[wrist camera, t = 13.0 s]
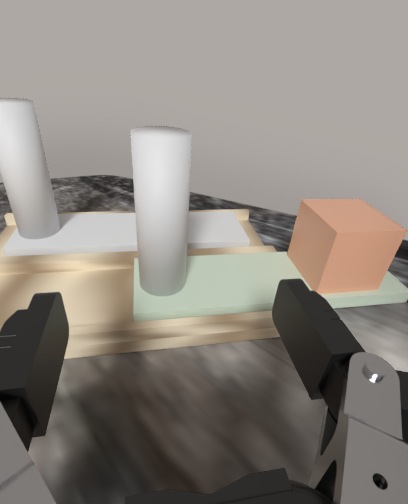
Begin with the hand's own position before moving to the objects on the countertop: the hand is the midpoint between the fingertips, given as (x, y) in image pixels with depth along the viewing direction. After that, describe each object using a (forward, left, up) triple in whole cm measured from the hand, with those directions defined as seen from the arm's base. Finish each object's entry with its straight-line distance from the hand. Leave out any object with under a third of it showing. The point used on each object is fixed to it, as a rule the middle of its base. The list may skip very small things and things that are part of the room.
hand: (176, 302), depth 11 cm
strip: (+2, -17, -7) cm, 18 cm away
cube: (-13, -9, -6) cm, 17 cm away
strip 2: (-8, -8, -7) cm, 13 cm away
